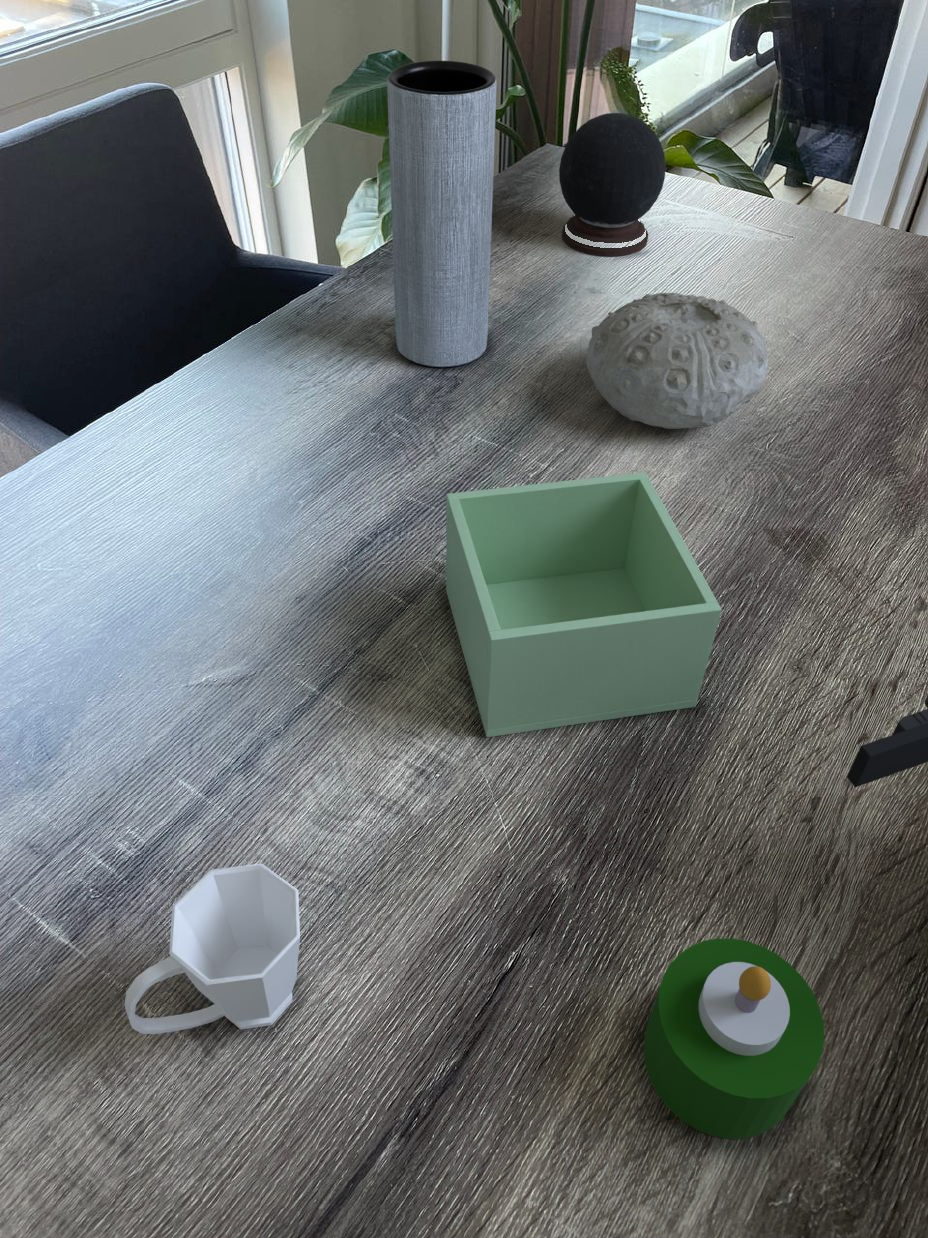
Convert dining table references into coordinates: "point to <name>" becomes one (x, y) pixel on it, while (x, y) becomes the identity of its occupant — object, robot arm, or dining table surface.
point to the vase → (441, 208)
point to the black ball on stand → (611, 182)
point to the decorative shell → (677, 360)
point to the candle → (732, 1037)
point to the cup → (229, 950)
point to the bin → (575, 603)
